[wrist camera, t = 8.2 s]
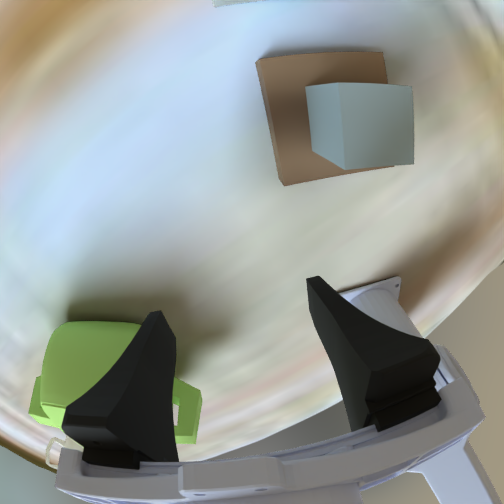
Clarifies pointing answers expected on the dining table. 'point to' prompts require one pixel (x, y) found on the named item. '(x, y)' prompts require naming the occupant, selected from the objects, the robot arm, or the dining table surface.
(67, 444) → the cup
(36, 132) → the dining table surface
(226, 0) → the supplement box
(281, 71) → the walnut slab
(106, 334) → the teapot
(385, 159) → the pale grey block
